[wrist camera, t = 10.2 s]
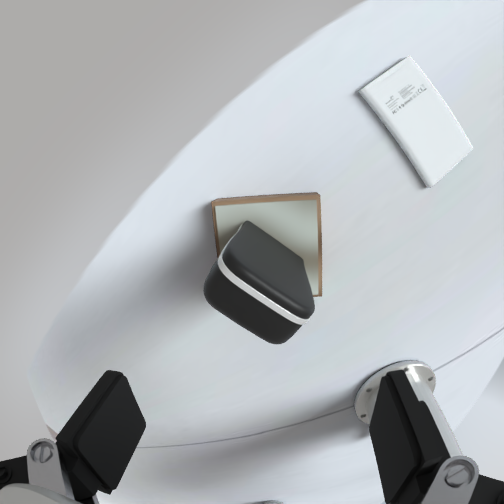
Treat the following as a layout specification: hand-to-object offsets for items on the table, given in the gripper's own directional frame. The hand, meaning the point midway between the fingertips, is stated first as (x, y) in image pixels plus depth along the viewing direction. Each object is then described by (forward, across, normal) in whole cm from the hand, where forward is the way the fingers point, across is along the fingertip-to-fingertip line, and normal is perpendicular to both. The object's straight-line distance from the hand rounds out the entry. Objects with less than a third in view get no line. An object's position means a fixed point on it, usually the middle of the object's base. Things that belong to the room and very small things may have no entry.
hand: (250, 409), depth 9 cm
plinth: (+22, 0, 0) cm, 22 cm away
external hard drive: (+23, -17, -13) cm, 31 cm away
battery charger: (+19, +1, 0) cm, 19 cm away
